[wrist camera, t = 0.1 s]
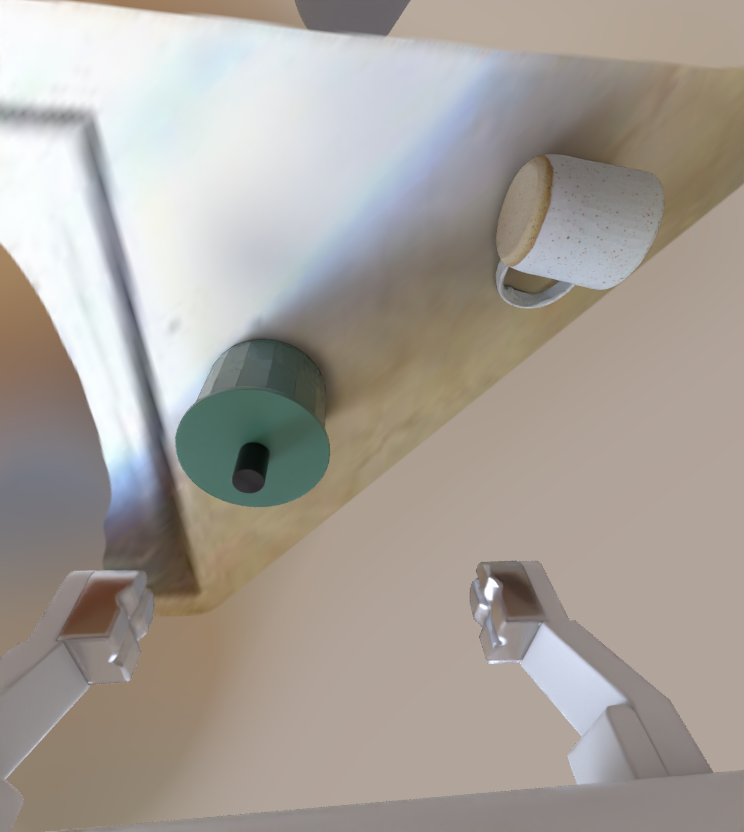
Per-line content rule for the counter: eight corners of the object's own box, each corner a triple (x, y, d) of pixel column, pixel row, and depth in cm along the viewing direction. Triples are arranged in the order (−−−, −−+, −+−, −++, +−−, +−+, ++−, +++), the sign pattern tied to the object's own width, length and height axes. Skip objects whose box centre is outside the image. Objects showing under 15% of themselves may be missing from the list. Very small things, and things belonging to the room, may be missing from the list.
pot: (202, 336, 35) (171, 388, 28) (326, 341, 36) (325, 392, 29) (217, 435, 41) (194, 499, 34) (324, 437, 42) (323, 499, 35)
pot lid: (166, 378, 28) (144, 412, 25) (331, 383, 30) (332, 416, 26) (191, 497, 35) (177, 537, 31) (328, 497, 36) (328, 535, 32)
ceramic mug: (513, 145, 29) (562, 153, 23) (618, 167, 31) (692, 179, 25) (468, 294, 35) (498, 333, 29) (558, 307, 37) (606, 346, 30)
